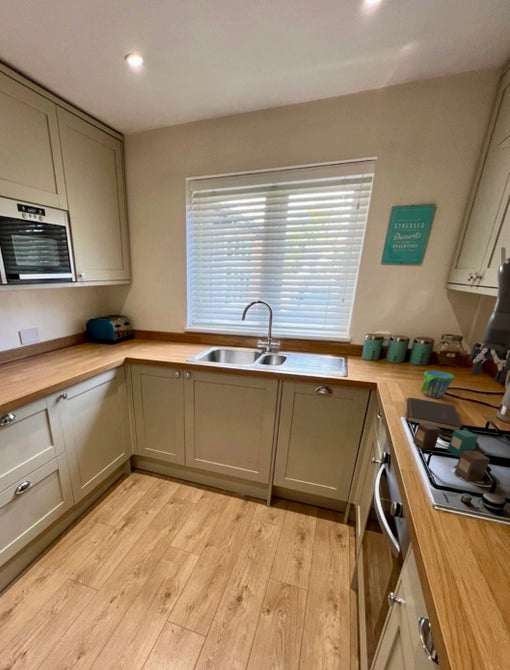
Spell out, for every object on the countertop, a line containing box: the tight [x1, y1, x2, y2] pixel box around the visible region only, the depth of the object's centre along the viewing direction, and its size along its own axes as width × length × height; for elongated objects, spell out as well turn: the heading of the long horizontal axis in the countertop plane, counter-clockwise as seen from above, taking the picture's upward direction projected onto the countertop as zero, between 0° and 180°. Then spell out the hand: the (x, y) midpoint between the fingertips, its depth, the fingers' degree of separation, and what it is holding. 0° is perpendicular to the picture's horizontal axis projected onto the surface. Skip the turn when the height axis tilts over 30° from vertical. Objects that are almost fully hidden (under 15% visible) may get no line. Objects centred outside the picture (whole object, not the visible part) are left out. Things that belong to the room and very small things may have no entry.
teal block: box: [446, 429, 479, 458], centre depth 96 cm, size 4×4×8 cm
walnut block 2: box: [454, 450, 491, 483], centre depth 85 cm, size 4×4×8 cm
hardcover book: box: [406, 397, 463, 430], centre depth 125 cm, size 16×23×2 cm
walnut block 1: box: [412, 423, 442, 450], centre depth 100 cm, size 4×4×8 cm
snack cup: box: [421, 370, 455, 399], centre depth 145 cm, size 16×10×10 cm
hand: (486, 378), depth 107 cm, fingers open, 8 cm apart
